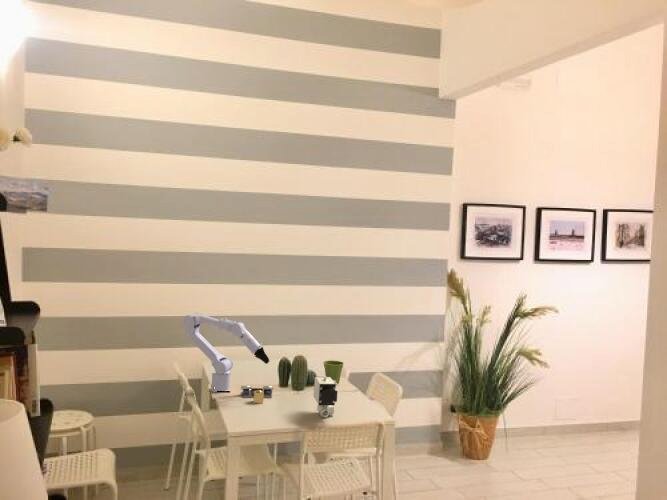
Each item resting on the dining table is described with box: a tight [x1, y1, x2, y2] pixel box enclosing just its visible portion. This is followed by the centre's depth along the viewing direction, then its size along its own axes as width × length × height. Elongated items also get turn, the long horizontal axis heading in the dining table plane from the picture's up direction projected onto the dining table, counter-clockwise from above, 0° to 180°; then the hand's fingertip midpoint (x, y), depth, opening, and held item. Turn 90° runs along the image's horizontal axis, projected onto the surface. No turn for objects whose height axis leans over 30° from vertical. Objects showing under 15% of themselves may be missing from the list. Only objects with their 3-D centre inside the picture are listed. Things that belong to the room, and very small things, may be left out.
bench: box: [240, 385, 274, 399], centre depth 303 cm, size 16×10×5 cm, turn 100°
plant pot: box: [322, 360, 345, 384], centre depth 336 cm, size 12×12×11 cm
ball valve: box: [313, 375, 338, 418], centre depth 277 cm, size 18×8×18 cm, turn 11°
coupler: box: [253, 390, 264, 404], centre depth 291 cm, size 4×4×6 cm
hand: (267, 361), depth 302 cm, fingers open, 7 cm apart
